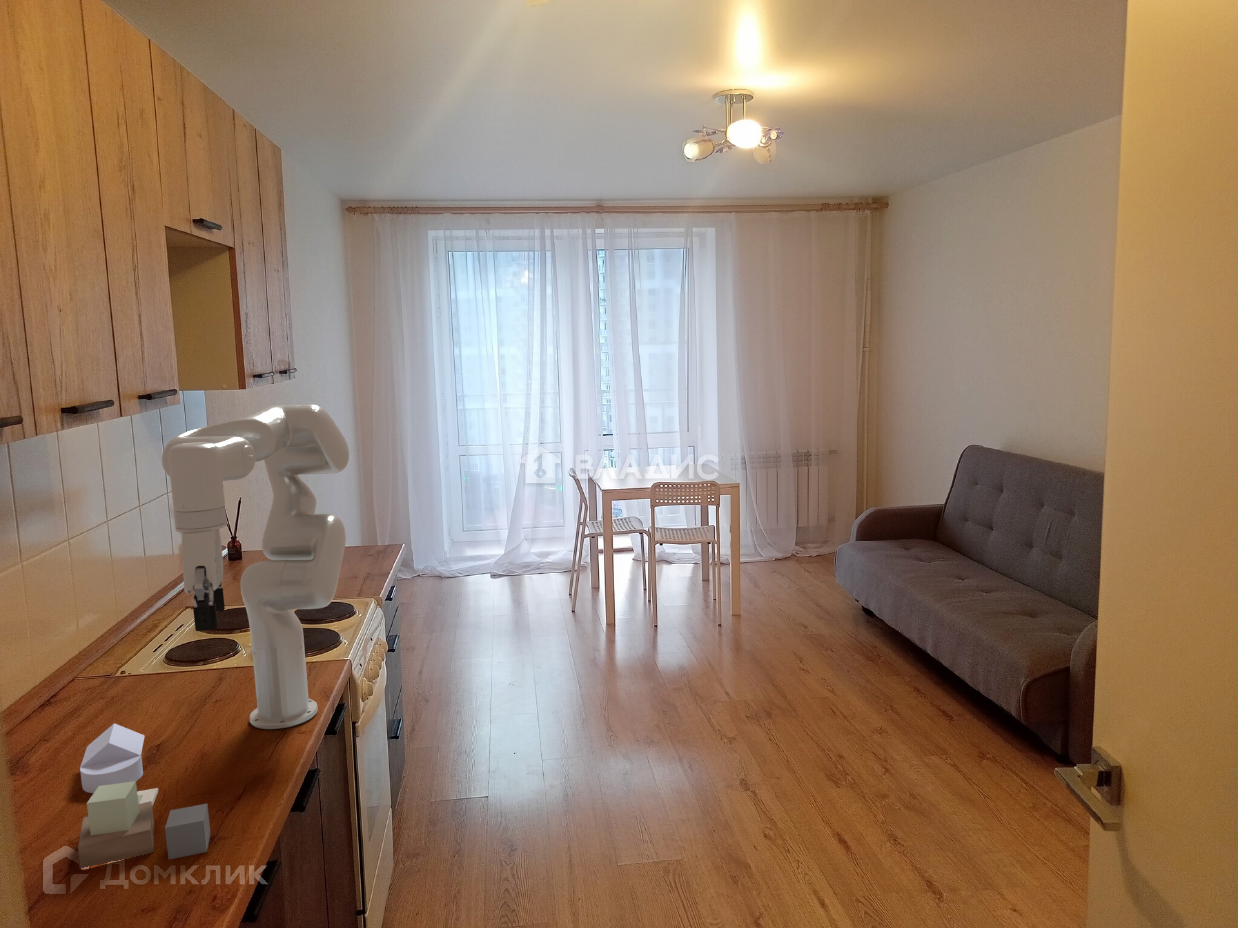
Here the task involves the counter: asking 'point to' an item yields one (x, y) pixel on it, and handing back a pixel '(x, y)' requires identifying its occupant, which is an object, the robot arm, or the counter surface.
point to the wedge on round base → (112, 758)
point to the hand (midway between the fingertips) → (210, 620)
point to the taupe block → (118, 840)
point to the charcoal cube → (187, 831)
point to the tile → (147, 795)
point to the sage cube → (113, 808)
